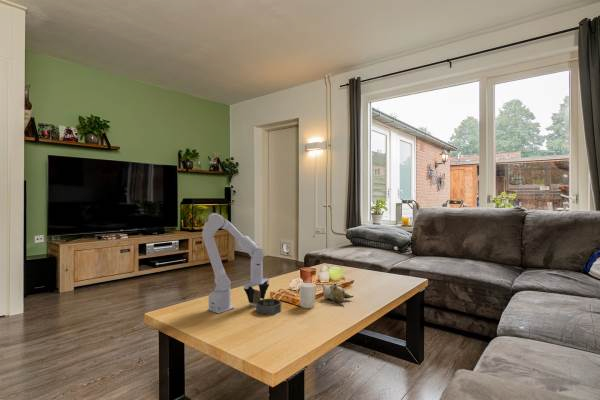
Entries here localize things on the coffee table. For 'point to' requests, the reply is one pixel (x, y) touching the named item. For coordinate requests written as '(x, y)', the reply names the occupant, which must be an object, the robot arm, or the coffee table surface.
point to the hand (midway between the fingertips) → (256, 300)
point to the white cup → (307, 295)
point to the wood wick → (256, 297)
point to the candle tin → (268, 306)
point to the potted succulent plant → (335, 293)
